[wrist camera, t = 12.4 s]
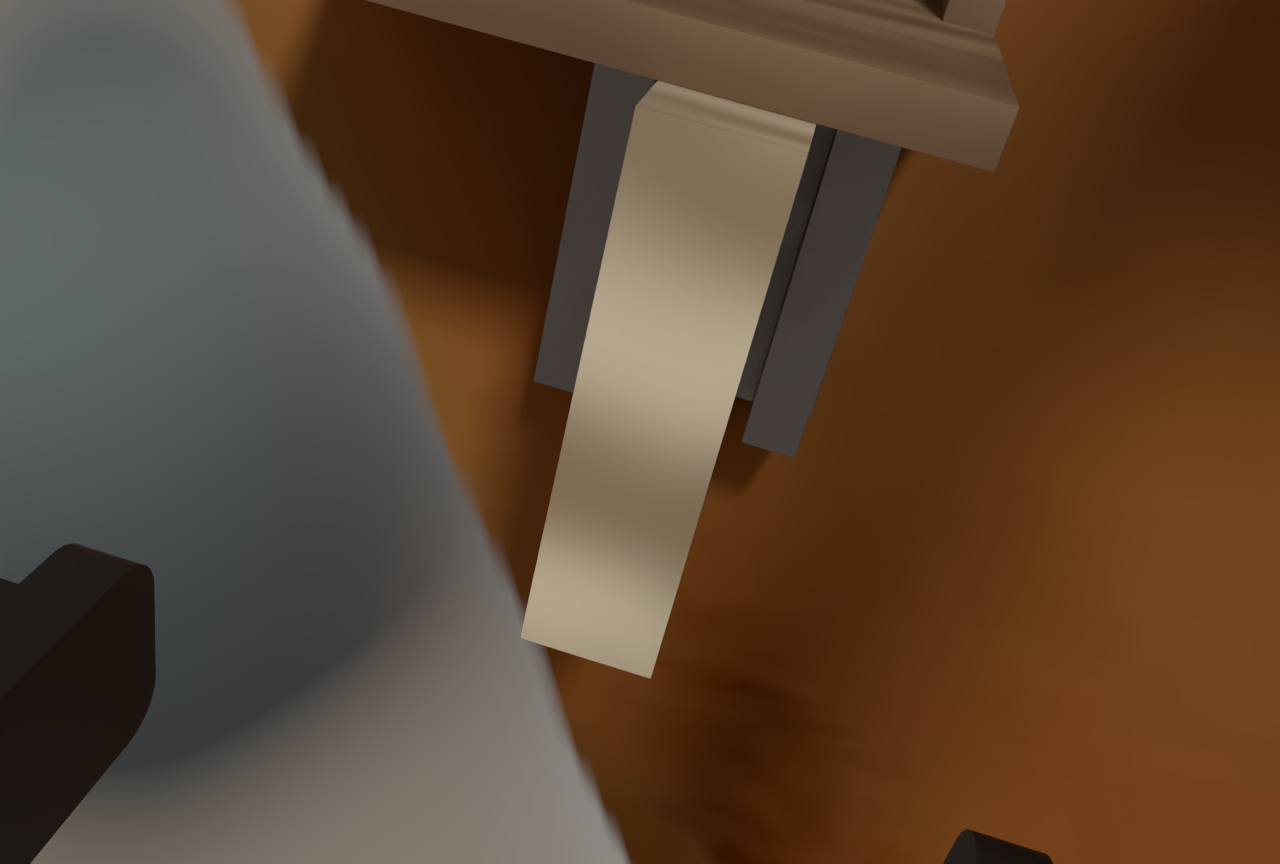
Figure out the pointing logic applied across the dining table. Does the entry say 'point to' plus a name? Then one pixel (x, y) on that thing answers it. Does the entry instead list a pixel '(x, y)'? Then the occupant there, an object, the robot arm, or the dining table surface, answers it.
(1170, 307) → the dining table surface
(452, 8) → the rack
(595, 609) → the beige rectangular slab
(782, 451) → the stand
